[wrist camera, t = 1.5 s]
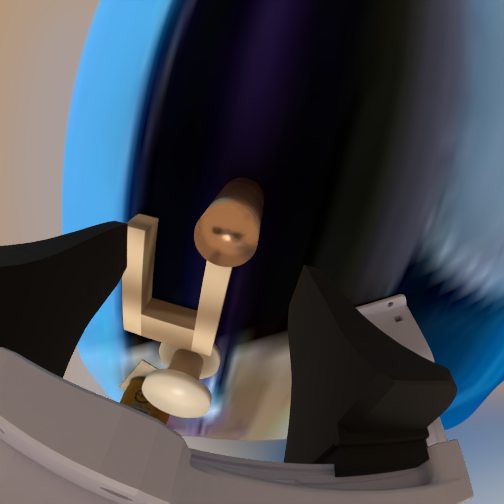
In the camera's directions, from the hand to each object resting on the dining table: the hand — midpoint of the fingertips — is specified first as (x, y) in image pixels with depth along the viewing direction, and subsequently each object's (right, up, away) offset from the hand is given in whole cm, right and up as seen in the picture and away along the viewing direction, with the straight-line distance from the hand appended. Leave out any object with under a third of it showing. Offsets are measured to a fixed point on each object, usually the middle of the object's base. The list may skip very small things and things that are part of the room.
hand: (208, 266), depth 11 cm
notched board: (-4, -2, +12) cm, 13 cm away
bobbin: (-4, -9, +15) cm, 18 cm away
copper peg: (+1, +4, +8) cm, 10 cm away
